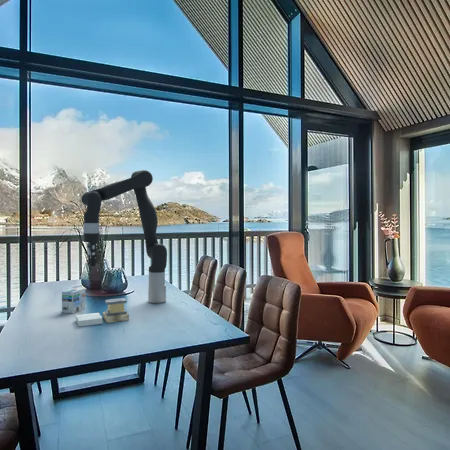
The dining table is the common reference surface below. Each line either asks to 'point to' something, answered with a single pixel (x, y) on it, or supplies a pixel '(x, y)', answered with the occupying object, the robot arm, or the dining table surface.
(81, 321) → the stand
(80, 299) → the light bulb box
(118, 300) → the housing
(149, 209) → the robot arm
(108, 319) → the stand
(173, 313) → the dining table surface
